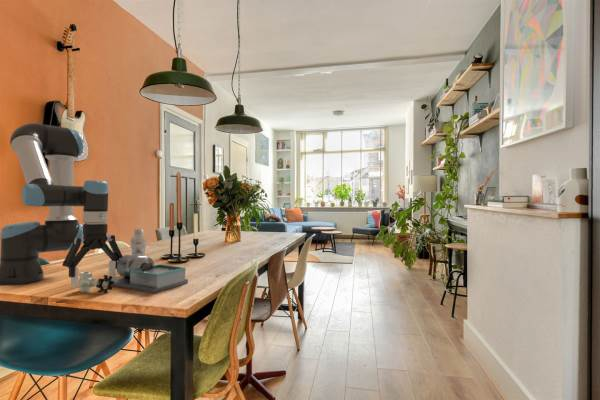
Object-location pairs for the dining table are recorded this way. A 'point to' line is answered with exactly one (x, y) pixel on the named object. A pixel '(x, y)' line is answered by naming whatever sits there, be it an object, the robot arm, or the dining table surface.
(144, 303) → the dining table surface
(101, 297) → the dining table surface
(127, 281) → the motor stand
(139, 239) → the plastic bottle
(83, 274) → the valve
